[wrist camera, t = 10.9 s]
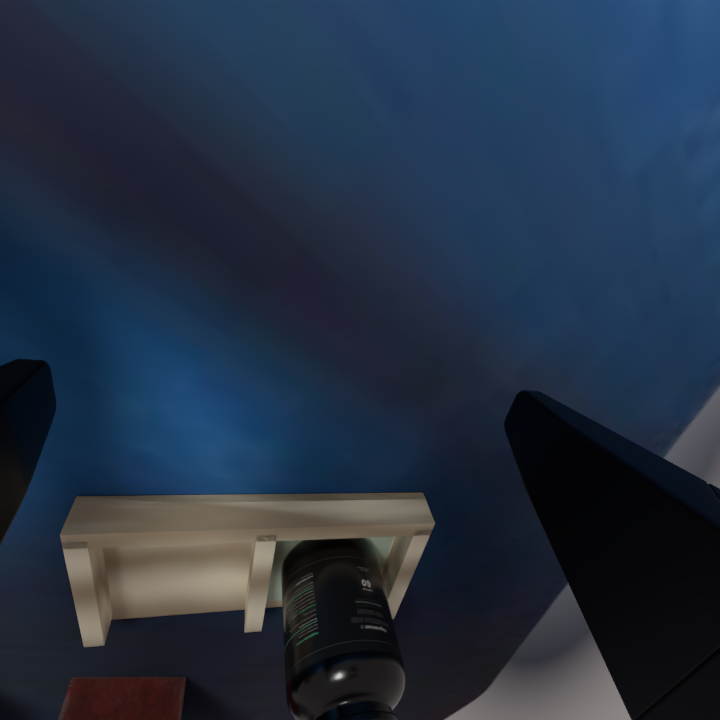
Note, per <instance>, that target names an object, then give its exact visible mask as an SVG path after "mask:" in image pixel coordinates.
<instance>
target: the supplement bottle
mask: <svg viewBox="0 0 720 720" xmlns="http://www.w3.org/2000/svg"><path fill="white" fill-rule="evenodd" d="M281 582H282V608H283V631H284V654H285V676H286V694H287V704H288V708H289V711H290V713H291V715H292V716H293V718H294V719H295V720H399V719H398V717H397V716H396V715H395V714H393V713H392V710H393V709H394V708H395V706H396V705H397V704H398V702H399V701H400V699H401V697H402V694H403V691H404V688H405V680H406V676H405V670H404V665H403V660H402V656H401V652H400V648H399V644H398V640H397V636H396V632H395V628H394V624H393V620H392V615H391V611H390V607H389V603H388V599H387V595H386V591H385V587H384V583H383V579H382V575H381V571H380V566H379V563H378V559H377V555H376V552H375V549H374V548H373V546H372V545H371V543H370V542H369V541H368V540H366V539H365V538H344V539H318V540H303V541H301V542H300V543H298V544H297V545H296V546H295V547H293V548H292V549H291V550H290V552H289V553H288V554H287V556H286V557H285V559H284V561H283V564H282V569H281Z"/></svg>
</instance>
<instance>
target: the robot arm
mask: <svg viewBox="0 0 720 720" xmlns="http://www.w3.org/2000/svg"><path fill="white" fill-rule="evenodd" d="M55 411H56V397H55V391H54V386H53V380H52V375H51V369H50V367H49V365H48V363H47V362H45V361H43V360H30V359H16V360H13V361H11V362H9V363H6V364H4V365H2V366H0V544H1V542H2V541H3V539H4V537H5V535H6V533H7V531H8V529H9V527H10V525H11V523H12V521H13V519H14V517H15V515H16V513H17V511H18V509H19V507H20V505H21V503H22V501H23V499H24V497H25V495H26V492H27V490H28V487H29V485H30V482H31V479H32V477H33V474H34V471H35V468H36V465H37V463H38V460H39V457H40V454H41V451H42V449H43V446H44V443H45V440H46V438H47V435H48V432H49V429H50V426H51V424H52V421H53V418H54V415H55ZM504 427H505V432H506V435H507V438H508V441H509V443H510V446H511V449H512V452H513V455H514V458H515V461H516V464H517V467H518V469H519V472H520V475H521V478H522V481H523V484H524V486H525V489H526V491H527V494H528V496H529V498H530V501H531V503H532V505H533V507H534V509H535V512H536V514H537V516H538V518H539V520H540V522H541V525H542V527H543V529H544V531H545V533H546V535H547V538H548V540H549V542H550V544H551V546H552V548H553V551H554V553H555V555H556V557H557V559H558V561H559V564H560V566H561V568H562V570H563V572H564V574H565V577H566V579H567V581H568V583H569V585H570V587H571V589H572V592H573V594H574V596H575V598H576V600H577V603H578V605H579V607H580V609H581V611H582V613H583V616H584V618H585V620H586V622H587V624H588V627H589V629H590V631H591V633H592V635H593V637H594V639H595V642H596V644H597V646H598V648H599V650H600V652H601V655H602V657H603V659H604V661H605V663H606V666H607V668H608V670H609V672H610V674H611V676H612V678H613V681H614V683H615V685H616V687H617V689H618V691H619V694H620V696H621V698H622V700H623V702H624V705H625V707H626V709H627V711H628V713H629V715H630V717H631V719H632V720H720V489H719V488H717V487H715V486H713V485H712V484H707V483H706V481H704V480H702V479H700V478H699V477H696V476H695V475H693V474H691V473H689V472H687V471H686V470H684V469H682V468H680V467H678V466H676V465H674V464H673V463H671V462H669V461H667V460H665V459H663V458H662V457H660V456H658V455H656V454H654V453H652V452H650V451H649V450H647V449H645V448H643V447H641V446H639V445H637V444H636V443H634V442H632V441H630V440H628V439H626V438H624V437H623V436H621V435H619V434H617V433H615V432H613V431H612V430H610V429H608V428H606V427H604V426H602V425H600V424H599V423H597V422H595V421H593V420H591V419H589V418H587V417H586V416H584V415H582V414H580V413H578V412H576V411H574V410H573V409H571V408H569V407H567V406H565V405H563V404H562V403H560V402H558V401H556V400H554V399H552V398H550V397H549V396H547V395H545V394H543V393H541V392H539V391H528V390H523V391H520V392H519V393H518V394H517V395H516V397H515V399H514V401H513V404H512V406H511V408H510V410H509V412H508V414H507V416H506V419H505V423H504Z"/></svg>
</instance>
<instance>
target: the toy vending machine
mask: <svg viewBox="0 0 720 720" xmlns="http://www.w3.org/2000/svg"><path fill="white" fill-rule="evenodd" d="M185 685H186V677H73V678H71V679H70V683H69V686H68V689H67V692H66V695H65V699H64V702H63V705H62V708H61V712H60V715H59V718H58V720H181V719H182V711H183V702H184V694H185Z"/></svg>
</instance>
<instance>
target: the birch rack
mask: <svg viewBox="0 0 720 720" xmlns="http://www.w3.org/2000/svg"><path fill="white" fill-rule="evenodd" d="M434 525H435V522H434V519H433V516H432V514H431V511H430V509H429V506H428V504H427V501H426V499H425V496H424V494H423V493H331V494H238V495H145V496H76V498H75V501H74V503H73V505H72V508H71V510H70V512H69V515H68V517H67V519H66V522H65V524H64V526H63V529H62V531H61V533H60V538H61V543H62V548H63V552H64V557H65V562H66V566H67V571H68V576H69V580H70V585H71V589H72V594H73V599H74V603H75V608H76V613H77V617H78V622H79V627H80V631H81V636H82V640H83V645H84V647H92V646H103V645H105V641H106V638H107V634H108V630H109V626H110V623H111V620H116V619H129V618H141V617H154V616H167V615H180V614H193V613H206V612H218V611H231V610H244V609H245V626H244V633H246V632H257V631H262V625H263V618H264V612H265V608H270V607H282V582H281V569H282V564H283V561H284V559H285V557H286V556H287V554H288V553H289V552H290V550H291V549H292V548H293V547H295V546H296V545H297V544H298V543H300V542H301V541H303V540H318V539H344V538H365V539H366V540H368V541H369V542H370V543H371V545H372V546H373V548H374V549H375V552H376V555H377V559H378V563H379V566H380V571H381V575H382V579H383V583H384V587H385V591H386V595H387V599H388V603H389V607H390V611H391V615H392V619H394V618H395V615H396V613H397V611H398V608H399V606H400V604H401V601H402V599H403V597H404V594H405V592H406V590H407V588H408V585H409V583H410V581H411V578H412V576H413V574H414V571H415V569H416V567H417V564H418V562H419V560H420V557H421V555H422V553H423V551H424V548H425V546H426V544H427V541H428V539H429V537H430V534H431V532H432V530H433V527H434Z"/></svg>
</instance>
